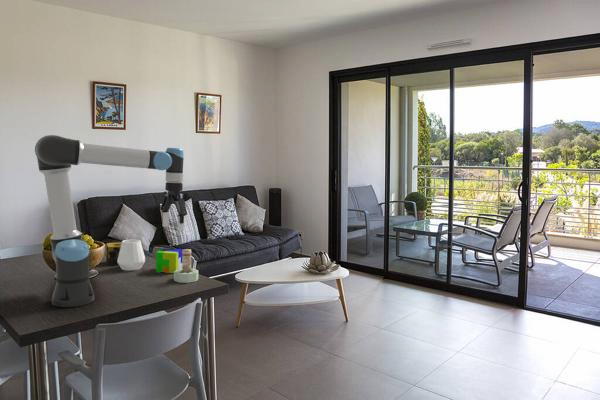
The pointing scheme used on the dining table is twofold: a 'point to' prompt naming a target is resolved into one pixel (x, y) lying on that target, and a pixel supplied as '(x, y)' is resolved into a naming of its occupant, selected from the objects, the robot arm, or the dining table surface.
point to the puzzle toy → (168, 260)
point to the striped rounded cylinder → (186, 261)
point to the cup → (131, 255)
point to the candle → (112, 253)
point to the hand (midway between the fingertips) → (172, 228)
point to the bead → (185, 276)
